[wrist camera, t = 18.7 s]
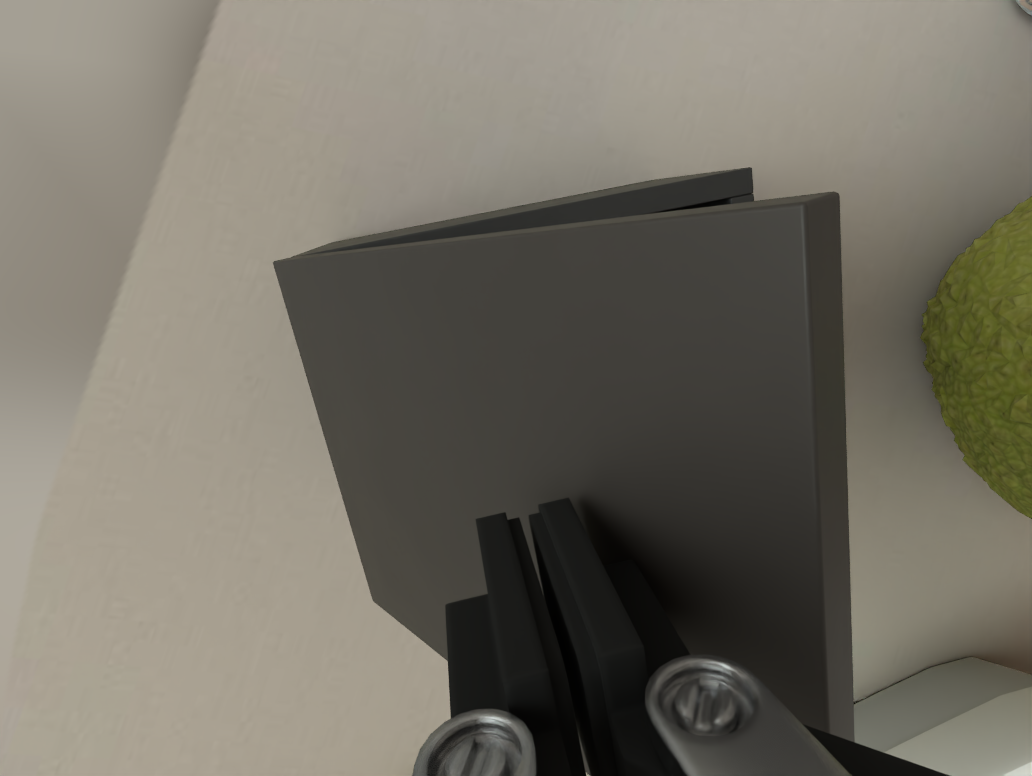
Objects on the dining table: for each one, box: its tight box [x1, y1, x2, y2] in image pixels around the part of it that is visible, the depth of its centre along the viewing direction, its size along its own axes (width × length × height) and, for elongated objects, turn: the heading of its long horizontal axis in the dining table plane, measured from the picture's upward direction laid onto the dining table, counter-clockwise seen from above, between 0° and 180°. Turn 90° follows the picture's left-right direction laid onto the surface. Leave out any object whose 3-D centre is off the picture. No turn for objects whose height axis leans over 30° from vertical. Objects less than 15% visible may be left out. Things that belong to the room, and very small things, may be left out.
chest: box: [291, 167, 754, 258], centre depth 25 cm, size 15×12×9 cm
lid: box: [273, 192, 855, 776], centre depth 14 cm, size 15×12×1 cm
